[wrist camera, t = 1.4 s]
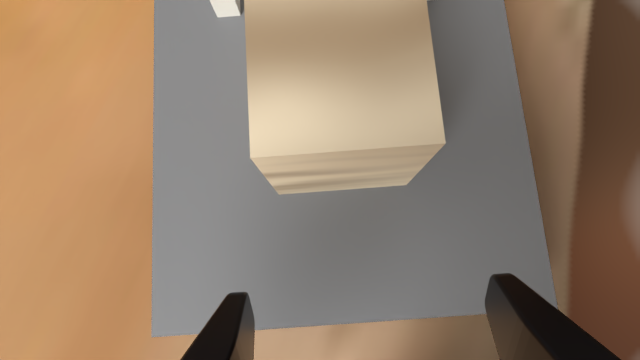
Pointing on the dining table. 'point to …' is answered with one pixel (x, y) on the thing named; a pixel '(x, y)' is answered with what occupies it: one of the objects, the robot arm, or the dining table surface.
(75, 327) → the dining table surface
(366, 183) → the maple block
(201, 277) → the platform
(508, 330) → the robot arm
